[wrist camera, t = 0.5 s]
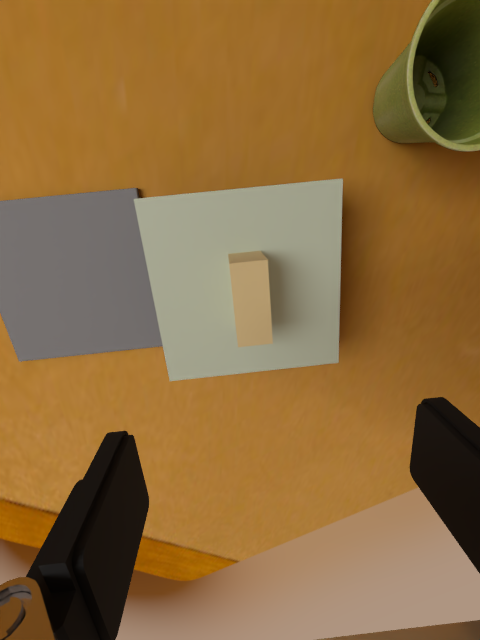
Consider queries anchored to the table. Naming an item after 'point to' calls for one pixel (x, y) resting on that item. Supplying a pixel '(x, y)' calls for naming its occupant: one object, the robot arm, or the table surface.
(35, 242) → the felt mat
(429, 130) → the plant pot
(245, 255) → the lid
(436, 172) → the table surface
